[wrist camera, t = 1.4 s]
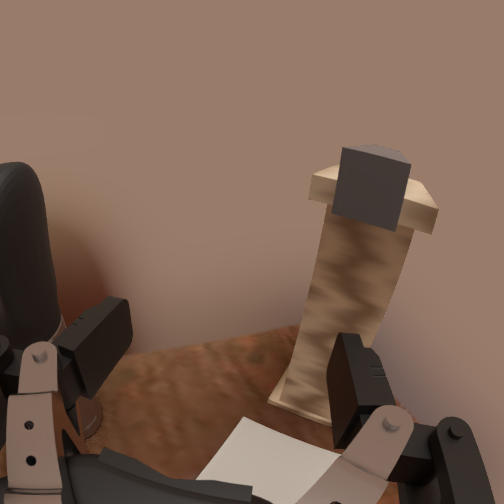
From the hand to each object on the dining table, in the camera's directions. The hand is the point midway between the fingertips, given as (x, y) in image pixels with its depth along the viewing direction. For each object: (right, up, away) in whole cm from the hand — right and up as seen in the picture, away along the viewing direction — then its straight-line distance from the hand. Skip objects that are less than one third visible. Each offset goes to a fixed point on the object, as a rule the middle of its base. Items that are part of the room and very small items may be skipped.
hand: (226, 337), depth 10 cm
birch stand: (+10, -18, +29) cm, 36 cm away
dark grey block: (+11, +9, +11) cm, 18 cm away
